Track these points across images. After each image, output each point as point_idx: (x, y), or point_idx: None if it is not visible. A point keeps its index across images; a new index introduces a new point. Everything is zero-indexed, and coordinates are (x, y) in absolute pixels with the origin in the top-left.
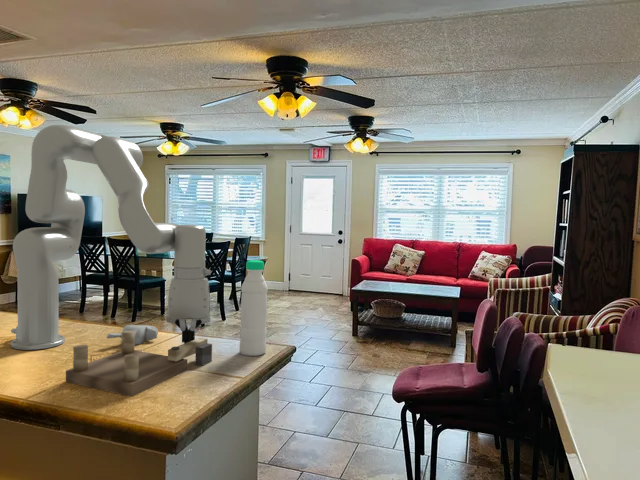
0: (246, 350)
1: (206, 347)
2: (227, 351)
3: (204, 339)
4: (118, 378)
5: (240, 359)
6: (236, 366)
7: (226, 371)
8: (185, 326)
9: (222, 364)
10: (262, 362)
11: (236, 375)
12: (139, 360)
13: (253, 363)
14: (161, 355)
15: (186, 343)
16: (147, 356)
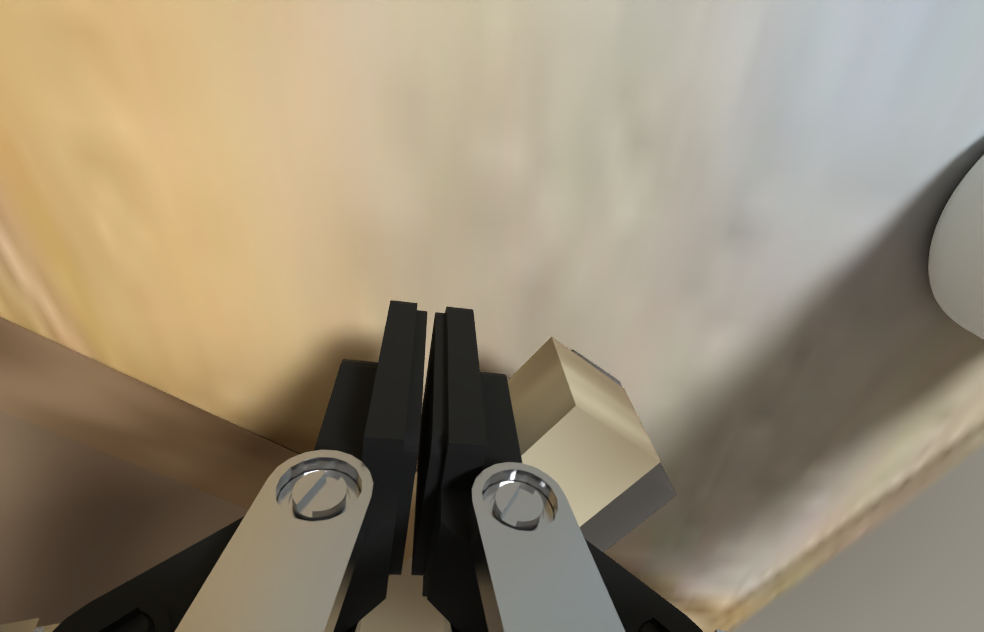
0: (974, 333)
1: (601, 543)
2: (853, 111)
3: (622, 471)
4: None
5: (844, 364)
6: (751, 486)
7: (663, 547)
8: (351, 612)
9: (677, 446)
10: (945, 438)
11: (695, 593)
12: (37, 578)
13: (880, 449)
14: (187, 495)
15: (407, 578)
16: (58, 507)
